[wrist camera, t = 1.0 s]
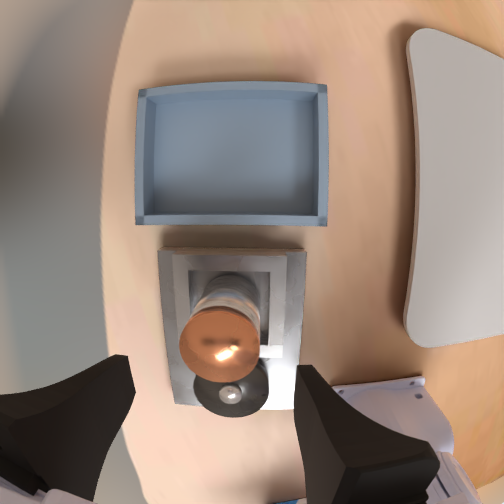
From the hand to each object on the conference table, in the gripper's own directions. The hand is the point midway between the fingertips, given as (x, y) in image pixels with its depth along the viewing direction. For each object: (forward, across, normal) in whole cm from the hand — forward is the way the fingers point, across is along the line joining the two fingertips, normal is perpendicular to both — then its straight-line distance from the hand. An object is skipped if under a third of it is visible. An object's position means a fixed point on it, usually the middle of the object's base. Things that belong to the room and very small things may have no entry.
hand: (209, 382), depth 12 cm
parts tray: (+10, 0, -10) cm, 14 cm away
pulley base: (+10, 0, +3) cm, 11 cm away
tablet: (+11, -21, -9) cm, 25 cm away
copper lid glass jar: (+9, 0, 0) cm, 9 cm away
